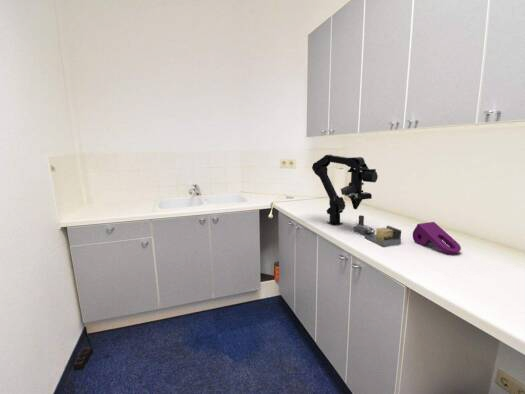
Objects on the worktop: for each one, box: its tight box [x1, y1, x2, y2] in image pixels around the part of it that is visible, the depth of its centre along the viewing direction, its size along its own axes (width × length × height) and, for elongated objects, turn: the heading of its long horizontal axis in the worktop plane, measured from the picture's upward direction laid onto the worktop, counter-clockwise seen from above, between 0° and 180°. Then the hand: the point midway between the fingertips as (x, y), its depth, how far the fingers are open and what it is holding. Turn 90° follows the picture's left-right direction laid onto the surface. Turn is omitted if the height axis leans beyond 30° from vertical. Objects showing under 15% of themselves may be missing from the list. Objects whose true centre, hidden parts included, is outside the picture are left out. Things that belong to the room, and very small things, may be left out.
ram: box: [355, 215, 376, 234], centre depth 139 cm, size 12×3×7 cm, turn 18°
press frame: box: [352, 225, 402, 248], centre depth 134 cm, size 24×12×6 cm, turn 18°
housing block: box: [375, 227, 393, 241], centre depth 127 cm, size 5×5×5 cm
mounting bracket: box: [412, 221, 462, 256], centre depth 120 cm, size 9×8×18 cm
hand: (355, 209), depth 147 cm, fingers closed
